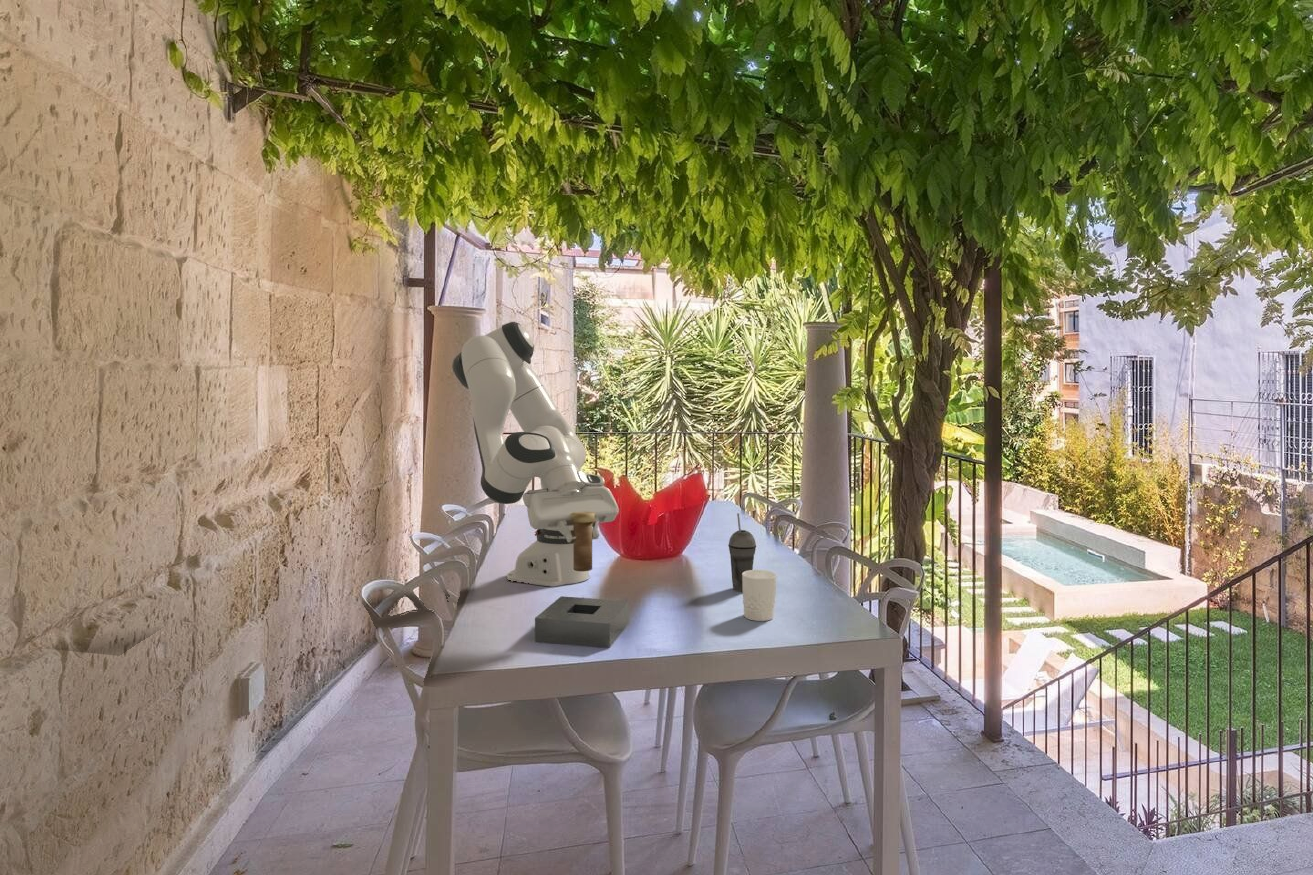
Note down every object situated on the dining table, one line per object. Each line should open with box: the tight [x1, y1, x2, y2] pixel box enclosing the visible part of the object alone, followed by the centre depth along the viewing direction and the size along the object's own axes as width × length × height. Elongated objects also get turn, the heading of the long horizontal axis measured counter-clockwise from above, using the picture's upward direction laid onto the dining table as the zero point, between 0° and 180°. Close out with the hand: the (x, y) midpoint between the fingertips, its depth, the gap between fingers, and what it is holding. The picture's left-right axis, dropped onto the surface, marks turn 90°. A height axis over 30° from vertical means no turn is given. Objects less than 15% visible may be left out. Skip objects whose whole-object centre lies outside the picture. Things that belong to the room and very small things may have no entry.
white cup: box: [742, 569, 778, 622], centre depth 167 cm, size 8×8×10 cm
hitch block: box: [534, 596, 630, 649], centre depth 156 cm, size 16×16×5 cm
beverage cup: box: [727, 513, 757, 593], centre depth 189 cm, size 7×7×20 cm
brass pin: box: [571, 511, 595, 572], centre depth 155 cm, size 5×5×12 cm
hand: (584, 539), depth 154 cm, fingers closed on brass pin, 4 cm apart
